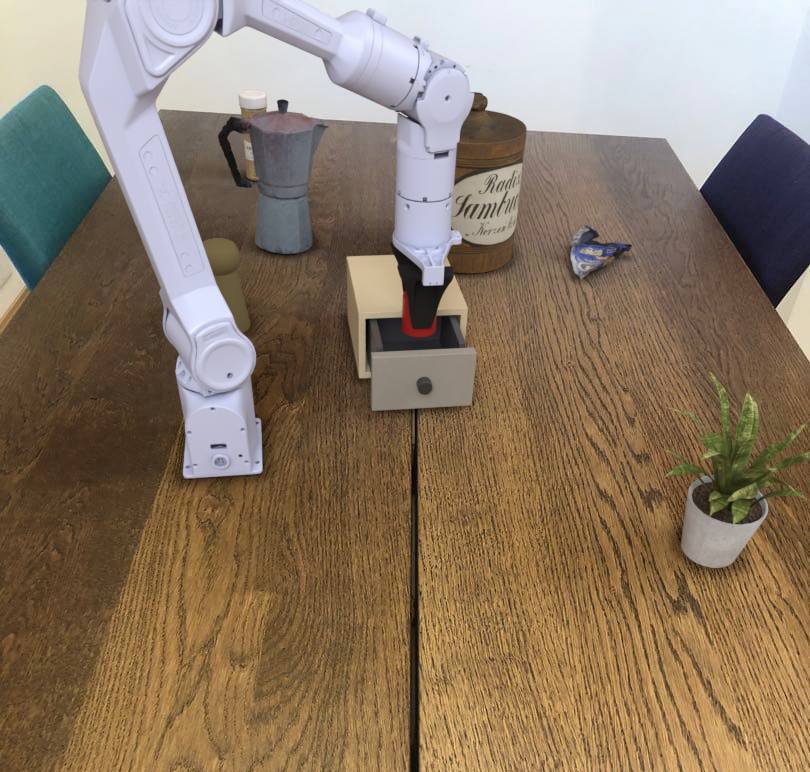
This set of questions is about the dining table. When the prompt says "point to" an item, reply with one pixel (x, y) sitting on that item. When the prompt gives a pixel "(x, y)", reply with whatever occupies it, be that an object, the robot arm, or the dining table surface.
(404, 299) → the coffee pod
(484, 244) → the wooden container
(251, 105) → the sprinkles bottle
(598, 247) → the snack package
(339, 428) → the dining table surface
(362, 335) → the mini drawer chest
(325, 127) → the moka pot
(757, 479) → the house plant
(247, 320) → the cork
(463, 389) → the drawer
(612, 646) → the dining table surface
